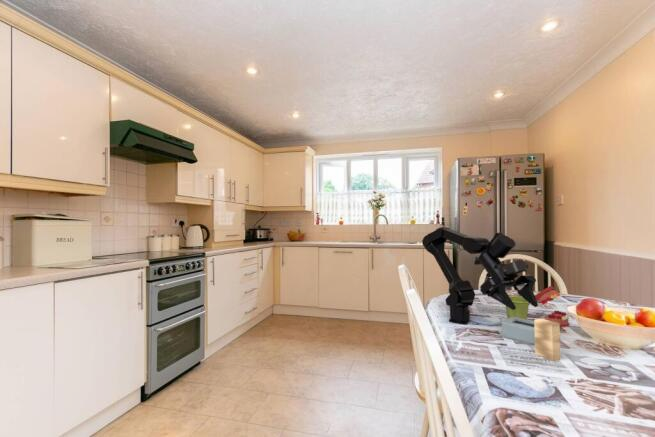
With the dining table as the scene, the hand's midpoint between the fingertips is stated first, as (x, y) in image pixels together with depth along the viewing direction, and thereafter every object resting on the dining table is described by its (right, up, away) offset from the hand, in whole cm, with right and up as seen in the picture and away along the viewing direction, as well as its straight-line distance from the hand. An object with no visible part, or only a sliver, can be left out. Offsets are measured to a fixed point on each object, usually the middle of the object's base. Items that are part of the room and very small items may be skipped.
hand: (526, 307), depth 92 cm
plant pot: (+13, -13, +25) cm, 32 cm away
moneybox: (+5, -12, +8) cm, 16 cm away
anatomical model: (+26, -13, +24) cm, 37 cm away
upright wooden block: (+2, -12, -6) cm, 14 cm away
